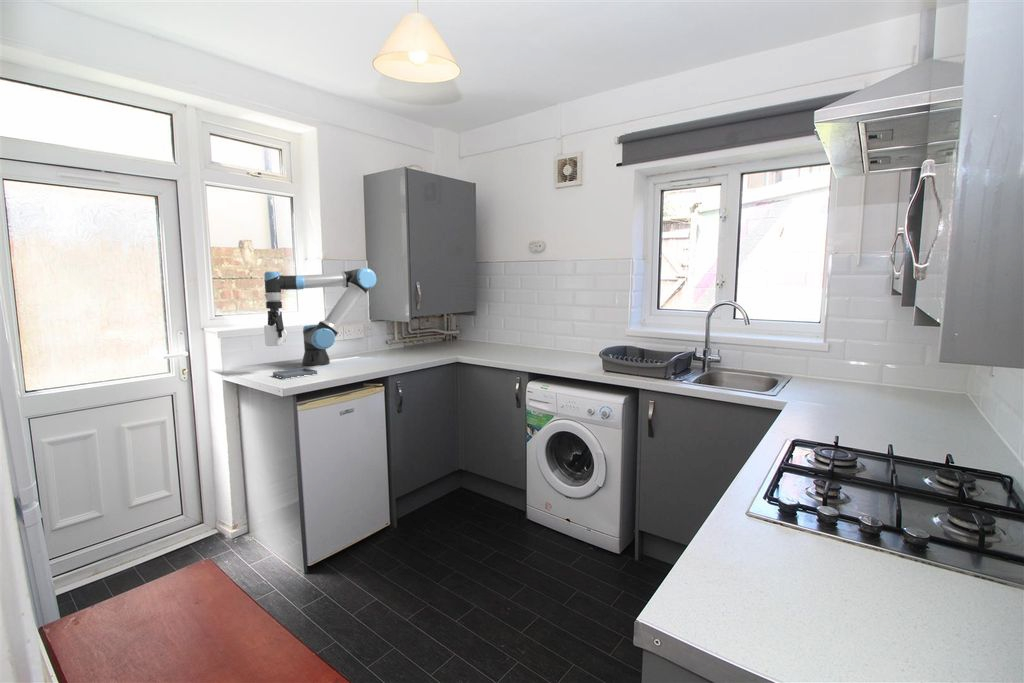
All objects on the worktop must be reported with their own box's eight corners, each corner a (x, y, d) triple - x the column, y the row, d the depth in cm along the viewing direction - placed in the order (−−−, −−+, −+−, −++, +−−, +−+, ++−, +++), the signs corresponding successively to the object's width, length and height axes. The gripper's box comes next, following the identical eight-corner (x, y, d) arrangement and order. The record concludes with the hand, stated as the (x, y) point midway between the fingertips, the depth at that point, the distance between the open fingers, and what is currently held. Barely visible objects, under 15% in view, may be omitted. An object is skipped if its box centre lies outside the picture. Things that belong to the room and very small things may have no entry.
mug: (282, 346, 251) (281, 325, 249) (261, 346, 252) (260, 325, 251) (292, 344, 259) (291, 324, 258) (272, 344, 261) (270, 324, 260)
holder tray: (305, 371, 258) (305, 367, 258) (317, 374, 248) (317, 370, 248) (273, 375, 246) (272, 372, 246) (284, 379, 236) (284, 375, 236)
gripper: (259, 300, 259) (261, 341, 261) (273, 301, 243) (276, 345, 246) (273, 300, 264) (276, 340, 267) (289, 301, 248) (291, 343, 251)
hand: (276, 342), depth 256 cm, fingers closed on mug, 10 cm apart
